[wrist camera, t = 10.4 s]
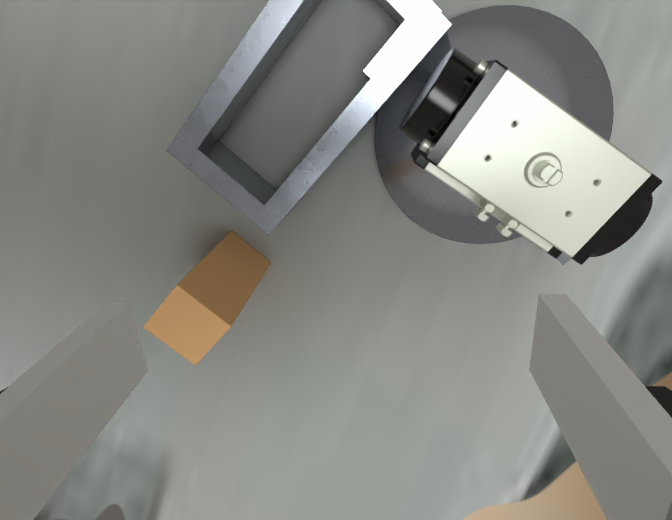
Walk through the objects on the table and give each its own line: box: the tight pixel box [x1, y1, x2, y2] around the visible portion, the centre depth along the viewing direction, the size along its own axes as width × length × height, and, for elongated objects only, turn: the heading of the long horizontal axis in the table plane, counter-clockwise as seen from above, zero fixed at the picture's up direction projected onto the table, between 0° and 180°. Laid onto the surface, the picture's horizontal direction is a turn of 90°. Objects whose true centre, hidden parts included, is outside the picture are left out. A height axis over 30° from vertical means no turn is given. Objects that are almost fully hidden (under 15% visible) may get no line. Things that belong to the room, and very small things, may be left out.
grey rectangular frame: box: [166, 0, 452, 235], centre depth 28 cm, size 9×17×4 cm, turn 138°
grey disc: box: [363, 0, 613, 265], centre depth 28 cm, size 18×15×4 cm
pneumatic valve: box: [399, 48, 662, 264], centre depth 23 cm, size 6×12×12 cm, turn 57°
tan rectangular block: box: [143, 231, 271, 365], centre depth 31 cm, size 4×4×10 cm
